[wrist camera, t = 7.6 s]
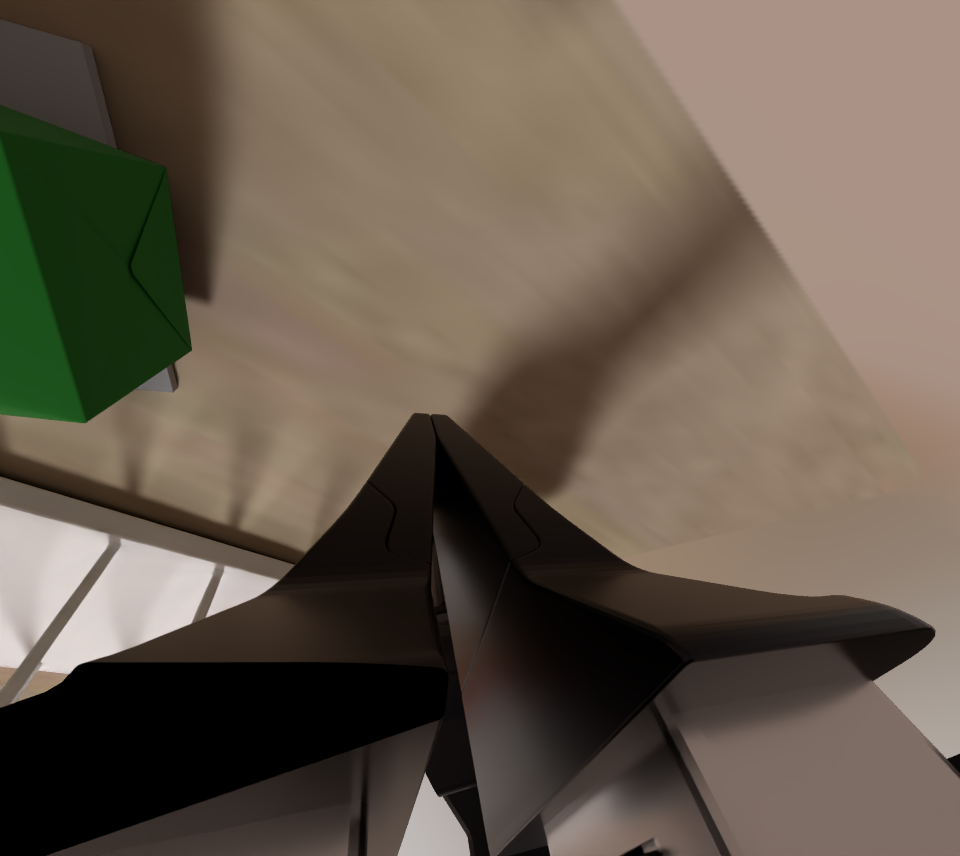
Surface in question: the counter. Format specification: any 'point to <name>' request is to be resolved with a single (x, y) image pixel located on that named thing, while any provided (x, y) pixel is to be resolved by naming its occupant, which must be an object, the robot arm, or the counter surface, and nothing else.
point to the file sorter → (104, 581)
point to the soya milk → (82, 272)
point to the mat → (59, 99)
